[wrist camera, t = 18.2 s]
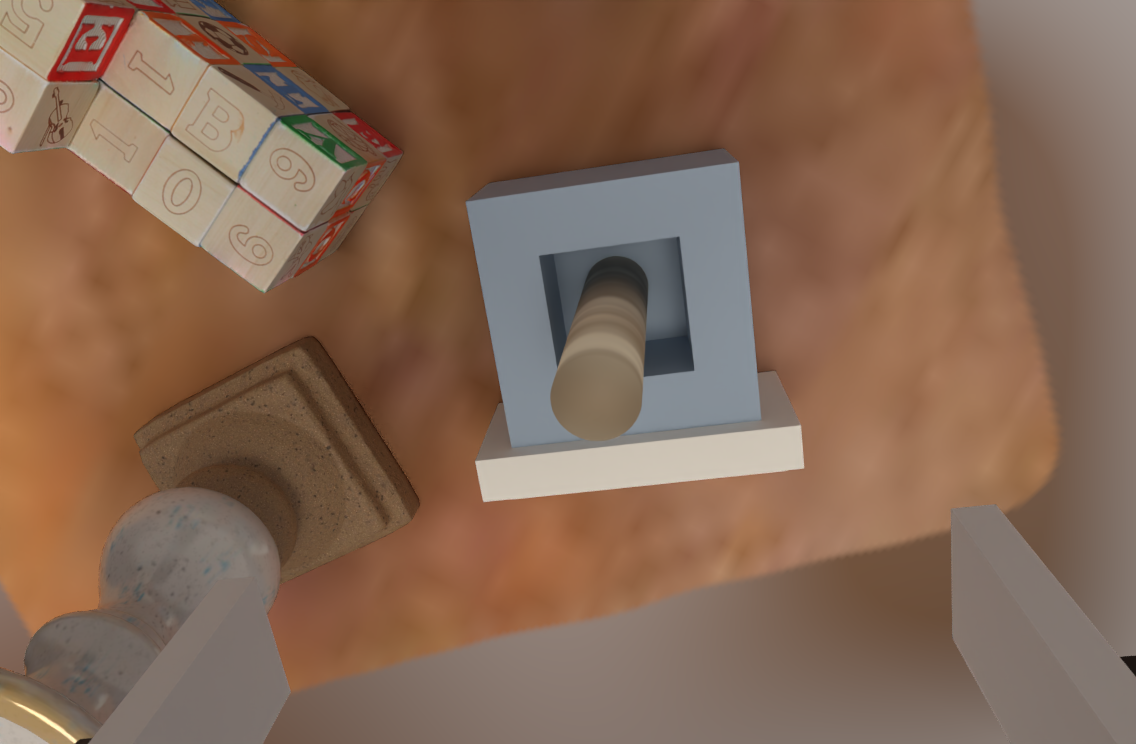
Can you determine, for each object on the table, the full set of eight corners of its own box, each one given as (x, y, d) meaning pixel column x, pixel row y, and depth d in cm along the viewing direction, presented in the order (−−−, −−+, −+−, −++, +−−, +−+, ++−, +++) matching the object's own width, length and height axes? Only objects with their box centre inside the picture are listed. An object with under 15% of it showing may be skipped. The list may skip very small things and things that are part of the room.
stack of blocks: (410, 150, 41) (322, 183, 30) (337, 252, 43) (229, 321, 32) (10, -167, 38) (-264, -269, 26) (-50, -42, 40) (-329, -86, 28)
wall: (498, 403, 45) (475, 461, 38) (775, 370, 43) (800, 425, 37) (514, 490, 47) (495, 560, 40) (782, 462, 45) (808, 530, 38)
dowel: (580, 260, 41) (543, 361, 28) (644, 252, 41) (635, 351, 28) (589, 320, 42) (557, 445, 29) (651, 313, 42) (647, 436, 29)
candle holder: (314, 331, 44) (-14, 603, 22) (424, 505, 47) (234, 905, 25) (145, 420, 47) (-307, 748, 24) (260, 581, 50) (-50, 1009, 27)
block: (488, 183, 41) (465, 201, 36) (723, 148, 40) (738, 161, 34) (527, 400, 45) (511, 448, 39) (744, 374, 44) (761, 420, 38)
